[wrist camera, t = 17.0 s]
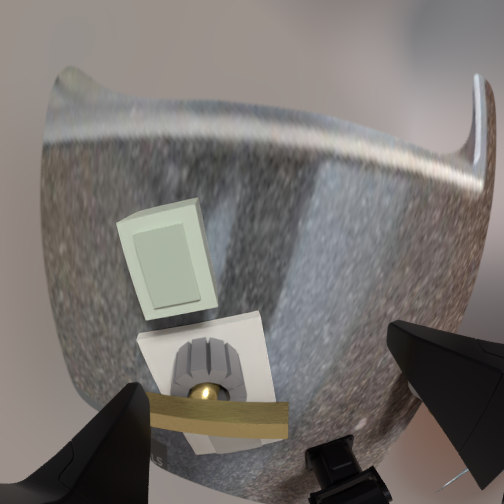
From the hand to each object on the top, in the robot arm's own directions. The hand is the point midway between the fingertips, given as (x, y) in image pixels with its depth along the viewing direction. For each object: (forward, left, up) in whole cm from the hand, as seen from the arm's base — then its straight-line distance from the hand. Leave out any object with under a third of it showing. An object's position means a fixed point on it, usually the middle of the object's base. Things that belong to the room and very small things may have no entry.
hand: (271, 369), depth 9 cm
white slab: (-13, +4, -12) cm, 18 cm away
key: (-8, +3, -11) cm, 14 cm away
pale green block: (+2, +4, -13) cm, 13 cm away
